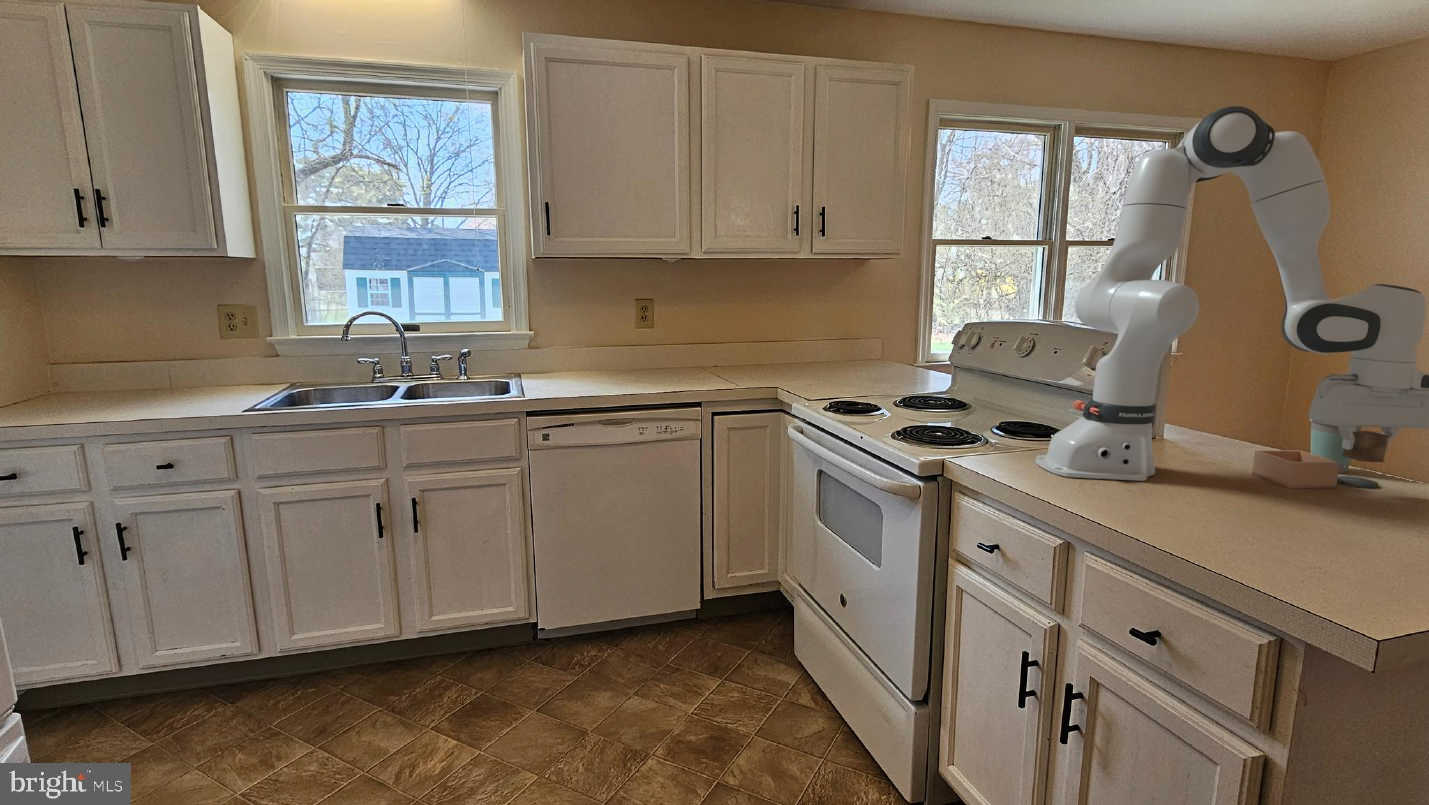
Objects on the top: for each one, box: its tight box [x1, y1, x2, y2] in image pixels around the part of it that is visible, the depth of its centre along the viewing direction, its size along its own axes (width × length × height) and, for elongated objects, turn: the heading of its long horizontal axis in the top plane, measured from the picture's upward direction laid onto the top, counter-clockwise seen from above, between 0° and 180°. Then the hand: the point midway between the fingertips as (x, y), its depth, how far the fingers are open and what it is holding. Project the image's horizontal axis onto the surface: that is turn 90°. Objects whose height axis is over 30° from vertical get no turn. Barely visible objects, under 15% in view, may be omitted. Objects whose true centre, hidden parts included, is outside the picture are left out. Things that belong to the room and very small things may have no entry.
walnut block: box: [1343, 430, 1389, 463], centre depth 132 cm, size 4×4×5 cm
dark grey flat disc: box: [1337, 475, 1379, 490], centre depth 139 cm, size 6×6×1 cm
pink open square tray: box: [1251, 449, 1340, 489], centre depth 140 cm, size 9×9×5 cm
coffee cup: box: [1309, 418, 1363, 474], centre depth 148 cm, size 9×8×12 cm
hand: (1364, 449), depth 132 cm, fingers closed on walnut block, 4 cm apart
